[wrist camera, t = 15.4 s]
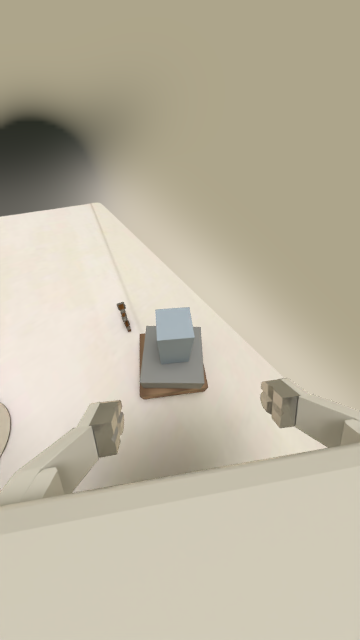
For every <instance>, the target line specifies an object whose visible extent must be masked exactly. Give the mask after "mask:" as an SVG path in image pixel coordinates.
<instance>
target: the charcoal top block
mask: <svg viewBox="0 0 360 640" xmlns="http://www.w3.org/2000/svg"><path fill="white" fill-rule="evenodd" d="M193 331H194V336H195V338H194V342H193V346H192V350H191V354H190V358H189V362H180V363H170V364H161V360H160V355H159V349H158V343H157V330H156V326H146V334H145V342H144V351H143V359H142V367H141V375H140V384H141V385H142V387H143V388H183V389H201V387H202V386H203V385H204V369H203V355H202V341H201V327H193Z"/></svg>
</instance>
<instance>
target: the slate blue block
mask: <svg viewBox="0 0 360 640" xmlns="http://www.w3.org/2000/svg"><path fill="white" fill-rule="evenodd" d="M156 330H157V343H158V349H159V355H160V360H161V364H170V363H180V362H189V358H190V354H191V350H192V346H193V342H194V338H195V336H194V331H193V325H192V320H191V314H190V308H189V307H186V308H172V309H158V310H156Z"/></svg>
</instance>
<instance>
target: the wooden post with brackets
mask: <svg viewBox="0 0 360 640" xmlns="http://www.w3.org/2000/svg"><path fill="white" fill-rule="evenodd" d="M117 307H118V309H119V310H120V311H121V315H122V319H123V322H125V326H126V327H127V329H128V332H129V331H131V329H130V326H129V325H130V323H129V321H128V320H127V317H126V313H125V310H124V309H125V304H124V302H121V303H118V304H117Z"/></svg>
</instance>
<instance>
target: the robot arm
mask: <svg viewBox="0 0 360 640" xmlns="http://www.w3.org/2000/svg"><path fill="white" fill-rule="evenodd" d="M261 389H262V390H263V392H262V393H261V395H260V400H261V404H262V406H263V408H264V409H265V411H266V412H268V413H270V414H271V415H272V419H273V420H274V422H275V423H276V424H277V425H278V427H279V428H285V427H293V426H295V427H296V428H298V429H299V430H301V431H302V432H304V433H306V434H307V435H309V436H310V437H312V438H313V439H315V440H317V441H318V442H320V443H321V444H323V445H325V446H326V447H328V448H325V449H319V450H314V451H308V452H303V453H297V454H291V455H286V456H280V457H274V458H269V459H263V460H257V461H252V462H246V463H240V464H235V465H229V466H223V467H218V468H212V469H206V470H201V471H195V472H189V473H184V474H178V475H173V476H167V477H161V478H156V479H150V480H145V481H139V482H134V483H128V484H122V485H116V486H111V487H105V488H99V489H93V490H88V491H82V492H77V493H72V492H73V491H74V489H75V488H76V487H77V486H78V484H79V483H80V482H81V481H82V479H83V478H84V477H85V476H86V474H87V473H88V472H89V471H90V469H91V468H92V467H93V466H94V464H95V463H96V462H97V461H98V459H99V458H100V457H105V456H110V455H116V454H117V453H118V449H119V445H120V435H121V434H122V433H123V429H124V414H123V413H122V412H121V409H122V403H121V401H120V400H115V401H106V402H97V403H92V404H90V405H89V407H88V409H87V410H86V412H85V414H84V416H83V417H82V419H81V421H80V422H79V424H78V426H77V428H73V429H72V430H70V431H69V432H68V433H66V434H65V435H64V436H62V437H61V438H60V439H59V440H57V441H56V442H55V443H53V444H52V445H51V446H49V447H48V448H47V449H45V450H44V451H43V452H41V453H40V454H39V455H38V456H36V457H35V458H34V459H32V460H31V461H30V462H28V463H27V464H26V465H24V466H23V467H22V468H20V469H19V470H18V471H16V472H15V473H14V475H13V476H12V477H11V479H10V480H9V481H8V483H7V484H6V485H5V486H4V488H3V489H2V490H1V492H0V640H360V411H359V410H356V409H353V408H351V407H348V406H345V405H342V404H339V403H336V402H334V401H331V400H328V399H325V398H322V397H319V396H316V395H314V394H312V395H310V394H309V393H307V392H306V391H305V390H304V389H302V388H301V387H300V386H298V385H297V384H296V383H294V382H293V381H291V380H290V379H288V378H282V379H278V380H271V381H263V382H262V383H261ZM9 432H10V417H9V413H8V411H7V409H6V408H5V406H4V405H3V404H1V403H0V456H1V454H2V452H3V450H4V448H5V445H6V443H7V440H8V436H9Z"/></svg>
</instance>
